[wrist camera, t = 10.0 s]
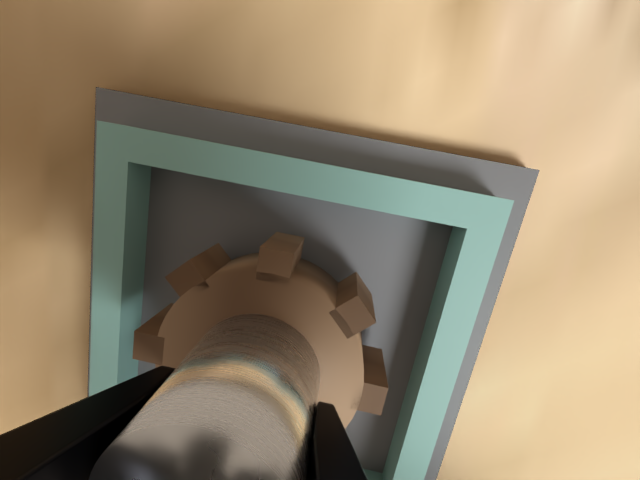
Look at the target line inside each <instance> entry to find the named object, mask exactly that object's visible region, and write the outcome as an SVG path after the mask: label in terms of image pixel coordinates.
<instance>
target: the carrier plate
mask: <svg viewBox="0 0 640 480" xmlns="http://www.w3.org/2000/svg"><path fill="white" fill-rule="evenodd" d="M538 173H539V170H536V169H530V168H525V167H520V166H514V165H509V164H504V163H498V162H493V161H488V160H482V159H477V158H472V157H466V156H461V155H456V154H450V153H445V152H440V151H435V150H429V149H424V148H419V147H413V146H408V145H403V144H397V143H392V142H387V141H381V140H376V139H371V138H365V137H360V136H355V135H349V134H344V133H339V132H333V131H328V130H323V129H317V128H312V127H307V126H301V125H296V124H291V123H285V122H280V121H275V120H269V119H264V118H259V117H253V116H248V115H243V114H237V113H232V112H227V111H221V110H216V109H211V108H205V107H200V106H195V105H189V104H184V103H179V102H173V101H168V100H163V99H157V98H152V97H147V96H141V95H136V94H131V93H125V92H120V91H115V90H109V89H104V88H99V87H96V105H95V142H94V179H93V217H92V254H91V291H90V329H89V366H88V397H89V396H92V395H94V394H96V393H99V392H101V391H103V390H105V389H108V388H110V387H112V386H115V385H117V384H119V383H122V382H124V381H126V380H129V379H131V378H133V377H136V376H138V375H140V374H142V373H145V372H147V371H149V370H152V369H154V368H156V367H155V364H153V363H149V362H144V361H140V360H136V359H132V358H133V342H134V331H135V330H136V329H138V328H139V327H140V326H142V325H143V324H144V323H145V322H147V321H148V320H149V319H151V318H152V317H153V316H155V315H156V314H157V313H159V312H160V311H161V310H163V309H164V308H165V307H167V306H168V305H169V304H170V303H175V302H176V301H177V300H178V299H179V298H180V296H179V295H178V294H177V293H176V291H175V290H174V289H173V287H172V286H171V285H170V283H169V282H168V281H167V280H166V278H165V276H167V275H168V274H170V273H171V272H173V271H174V270H175V269H177V268H178V267H180V266H181V265H183V264H184V263H185V262H187V261H188V260H190V259H191V258H193V257H195V256H197V255H198V254H200V253H202V252H204V251H205V250H207V249H209V248H210V247H212V246H214V245H216V244H217V243H219V244H220V245H221V247H222V248H223V249H224V251H225V252H226V253H227V255H228V256H229V258H230V259H231V260H233V259H235V258H237V257H240V256H244V255H248V254H252V253H259V249H260V246H261V245H262V244H263V243H265V242H266V241H267V240H268V239H269V238H270V237H271V236H272V235H274V234H275V233H276V232H281V233H286V234H291V235H295V236H300V237H305V238H304V244H303V249H302V254H301V258H302V259H304V260H307V261H309V262H311V263H313V264H315V265H317V266H318V267H320V268H322V269H323V270H324V271H326V272H327V273H328V274H330V275H331V276H332V277H333V278H334V279H335V280H336V281H337V282H340V281H342V280H343V279H345V278H347V277H348V276H350V275H351V274H353V273H355V272H357V273H358V275H359V276H360V278H361V279H362V281H363V282H364V284H365V285H366V287H367V288H368V290H369V291H370V292H371V294H372V299H373V306H374V312H375V318H376V323H375V324H373V325H371V326H370V327H368V328H366V329H364V330H363V331H361V334H362V345H366V346H370V347H375V348H380V349H382V353H383V359H384V365H385V370H386V376H387V382H388V392H387V395H386V399H385V403H384V406H383V410H382V414H381V415H376V414H372V413H368V412H363V411H359V410H357V411H356V413H355V415H354V417H353V419H352V420H351V421H350V423H349V424H348V426H347V427H346V428H345V430H346V433H347V435H348V437H349V439H350V441H351V443H352V446H353V448H354V450H355V452H356V454H357V457H358V459H359V461H360V463H361V465H362V468H363V470H364V472H365V474H366V476H367V479H368V480H436V478H437V475H438V472H439V469H440V466H441V463H442V460H443V457H444V454H445V451H446V448H447V445H448V442H449V439H450V436H451V433H452V430H453V427H454V424H455V421H456V418H457V415H458V412H459V409H460V406H461V403H462V400H463V397H464V394H465V391H466V388H467V385H468V382H469V379H470V376H471V373H472V370H473V367H474V364H475V361H476V358H477V355H478V352H479V349H480V346H481V343H482V340H483V337H484V334H485V331H486V328H487V325H488V322H489V319H490V316H491V313H492V310H493V307H494V304H495V301H496V298H497V295H498V292H499V290H500V287H501V284H502V281H503V278H504V275H505V272H506V269H507V266H508V263H509V260H510V257H511V254H512V251H513V248H514V245H515V242H516V239H517V236H518V233H519V230H520V227H521V224H522V221H523V218H524V215H525V212H526V209H527V206H528V203H529V200H530V197H531V194H532V191H533V188H534V185H535V182H536V179H537V176H538Z"/></svg>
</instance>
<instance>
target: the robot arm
mask: <svg viewBox="0 0 640 480" xmlns="http://www.w3.org/2000/svg"><path fill="white" fill-rule="evenodd" d="M175 369H176V368H172V367H168V366H159V367H156V368H154V369H152V370H149V371H147V372H145V373H142V374H140V375H138V376H136V377H133V378H131V379H129V380H126V381H124V382H122V383H119V384H117V385H115V386H112V387H110V388H108V389H105V390H103V391H101V392H99V393H96V394H94V395H92V396H89V397H87V398H85V399H82V400H80V401H78V402H75V403H73V404H71V405H69V406H66V407H64V408H62V409H59V410H57V411H55V412H52V413H50V414H48V415H45V416H43V417H41V418H38V419H36V420H34V421H32V422H29V423H27V424H25V425H22V426H20V427H18V428H15V429H13V430H11V431H8V432H6V433H4V434H1V435H0V480H89V477H90V473H91V471H92V469H93V467H94V465H95V463H96V462H97V460H98V459H99V457H100V456H101V455H102V453H103V452H104V451H105V450H106V449H107V448H108V446H109V445H110V444H111V443H112V442H113V441H114V439H115V438H116V437H117V436H118V435H119V434H120V433H121V431H122V430H123V429H124V428H125V427H126V426H127V424H128V423H129V422H130V421H131V420H132V419H133V418H134V416H135V415H136V414H137V413H138V412H139V411H140V409H141V408H142V407H143V406H144V405H145V404H146V403H147V401H148V400H149V399H150V398H151V397H152V396H153V394H154V393H155V392H156V391H157V390H158V389H159V387H160V386H161V385H162V384H163V383H164V382H165V381H166V379H167V378H168V377H169V376H170V375H171V374H172V372H173V371H174V370H175ZM306 480H368V479H367V476H366V474H365V472H364V470H363V468H362V465H361V463H360V461H359V459H358V457H357V454H356V452H355V450H354V448H353V446H352V443H351V441H350V439H349V437H348V435H347V433H346V430H345V428H344V426H343V424H342V422H341V419H340V417H339V415H338V413H337V411H336V408H335V406H334V405H333V404H330V403H326V402H321V401H319V402H318V403H317V406H316V412H315V419H314V426H313V433H312V440H311V447H310V455H309V462H308V469H307V477H306Z"/></svg>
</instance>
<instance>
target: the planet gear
mask: <svg viewBox="0 0 640 480" xmlns="http://www.w3.org/2000/svg"><path fill="white" fill-rule="evenodd" d="M304 238H305V237H300V236H295V235H291V234H286V233H281V232H276V233H275V234H274V235H272V236H271V237H270V238H269V239H268V240H267V241H266V242H265V243H263V244H262V245H261V246H260V249H259V253H252V254H248V255H244V256H240V257H237V258H235V259H233V260H231V259H230V258H229V256H228V255H227V253H226V252H225V251H224V249H223V248H222V247H221V245H220V244H219V243H217V244H216V245H214V246H212V247H210V248H209V249H207V250H205V251H204V252H202V253H200V254H198V255H197V256H195V257H193V258H191V259H190V260H188V261H187V262H185V263H184V264H183V265H181V266H180V267H178V268H177V269H175V270H174V271H173V272H171V273H170V274H168V275H167V276H165V278H166V280H167V281H168V282H169V283H170V285H171V286H172V287H173V289H174V290H175V291H176V293H177V294H178V295H179V296H180V298H179V299H178V300H177V301H176V302H175V303H170V304H169V305H168V306H167V307H165V308H164V309H163V310H161V311H160V312H159V313H157V314H156V315H155V316H153V317H152V318H151V319H149V320H148V321H147V322H145V323H144V324H143V325H142V326H140V327H139V328H138V329H136V330H135V331H134V342H133V358H132V359H136V360H140V361H144V362H149V363H153V364H155V367H159V366H168V367H172V368H176V369H175V370H174V371H173V372H172V374H171V375H170V376H169V377H168V378H167V379H166V381H165V382H164V383H163V384H162V385H161V386H160V387H159V389H158V390H157V391H156V392H155V393H154V394H153V396H152V397H151V398H150V399H149V400H148V401H147V403H146V404H145V405H144V406H143V407H142V408H141V409H140V411H139V412H138V413H137V414H136V415H135V416H134V418H133V419H132V420H131V421H130V422H129V423H128V424H127V426H126V427H125V428H124V429H123V430H122V431H121V433H120V434H119V435H118V436H117V437H116V438H115V439H114V441H113V442H112V443H111V444H110V445H109V446H108V448H107V449H106V450H105V451H104V452H103V453H102V455H101V456H100V457H99V459H98V460H97V462H96V463H95V465H94V467H93V469H92V471H91V473H90V477H89V480H306V477H307V469H308V462H309V455H310V447H311V440H312V433H313V426H314V419H315V412H316V406H317V403H318V402H319V401H321V402H326V403H330V404H333V405H334V406H335V408H336V411H337V413H338V415H339V417H340V419H341V422H342V424H343V426H344V428H346V427H347V426H348V424H349V423H350V421H351V420H352V419H353V417H354V415H355V413H356V411H357V410H359V411H363V412H368V413H372V414H376V415H381V414H382V410H383V406H384V403H385V399H386V395H387V392H388V382H387V376H386V370H385V365H384V359H383V353H382V349H380V348H375V347H370V346H366V345H362V334H361V331H363V330H364V329H366V328H368V327H370V326H371V325H373V324H375V323H376V318H375V312H374V306H373V299H372V294H371V292H370V291H369V290H368V288H367V287H366V285H365V284H364V282H363V281H362V279H361V278H360V276H359V275H358V273H357V272H355V273H353V274H351V275H350V276H348V277H347V278H345V279H343V280H342V281H340V282H337V281H336V280H335V279H334V278H333V277H332V276H331V275H330V274H328V273H327V272H326V271H324V270H323V269H322V268H320V267H318V266H317V265H315V264H313V263H311V262H309V261H307V260H304V259H302V258H301V254H302V249H303V244H304Z"/></svg>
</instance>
